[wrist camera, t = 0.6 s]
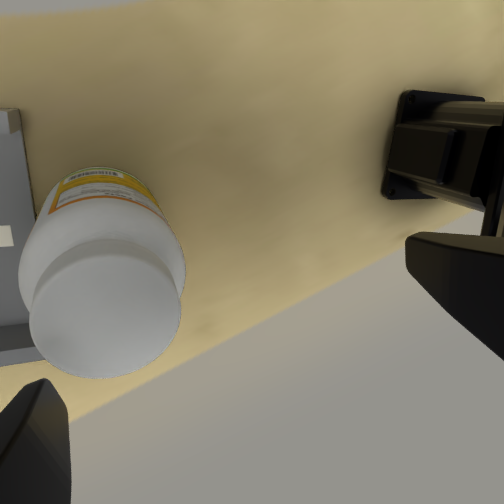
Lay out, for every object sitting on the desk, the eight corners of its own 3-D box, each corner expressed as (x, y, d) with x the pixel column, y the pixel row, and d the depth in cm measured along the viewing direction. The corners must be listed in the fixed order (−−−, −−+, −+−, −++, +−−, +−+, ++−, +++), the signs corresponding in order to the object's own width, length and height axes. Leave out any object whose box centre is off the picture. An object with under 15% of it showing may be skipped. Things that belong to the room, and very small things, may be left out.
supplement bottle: (112, 286, 20) (124, 424, 12) (17, 226, 17) (-56, 349, 9) (180, 213, 20) (240, 300, 12) (94, 140, 17) (92, 186, 9)
